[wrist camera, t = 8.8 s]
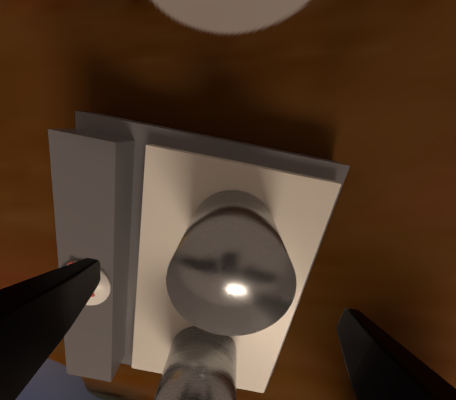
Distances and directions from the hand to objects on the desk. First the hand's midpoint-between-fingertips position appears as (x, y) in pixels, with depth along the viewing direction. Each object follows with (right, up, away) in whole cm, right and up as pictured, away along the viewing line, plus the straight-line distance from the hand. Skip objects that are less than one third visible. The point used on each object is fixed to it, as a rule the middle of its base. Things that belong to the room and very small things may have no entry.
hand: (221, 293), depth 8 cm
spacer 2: (-2, -8, +9) cm, 12 cm away
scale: (-2, -2, +10) cm, 10 cm away
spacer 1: (0, +2, +5) cm, 6 cm away
